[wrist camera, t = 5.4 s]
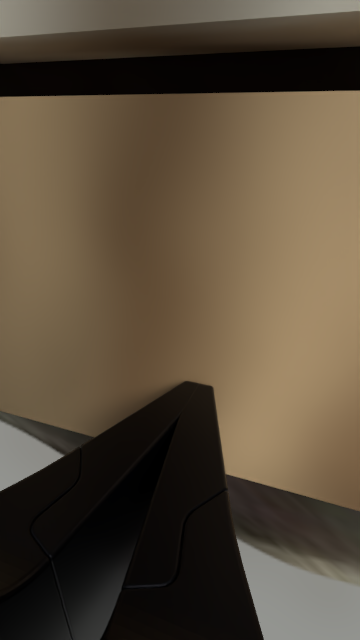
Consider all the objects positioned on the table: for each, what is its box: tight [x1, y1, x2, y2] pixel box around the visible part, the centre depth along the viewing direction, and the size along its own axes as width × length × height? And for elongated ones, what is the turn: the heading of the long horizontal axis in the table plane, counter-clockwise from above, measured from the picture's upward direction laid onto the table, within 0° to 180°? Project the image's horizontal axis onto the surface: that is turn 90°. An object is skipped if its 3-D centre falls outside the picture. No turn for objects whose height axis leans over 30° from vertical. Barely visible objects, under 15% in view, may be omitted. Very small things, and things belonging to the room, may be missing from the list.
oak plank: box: [0, 91, 360, 511], centre depth 9 cm, size 14×9×2 cm, turn 89°
